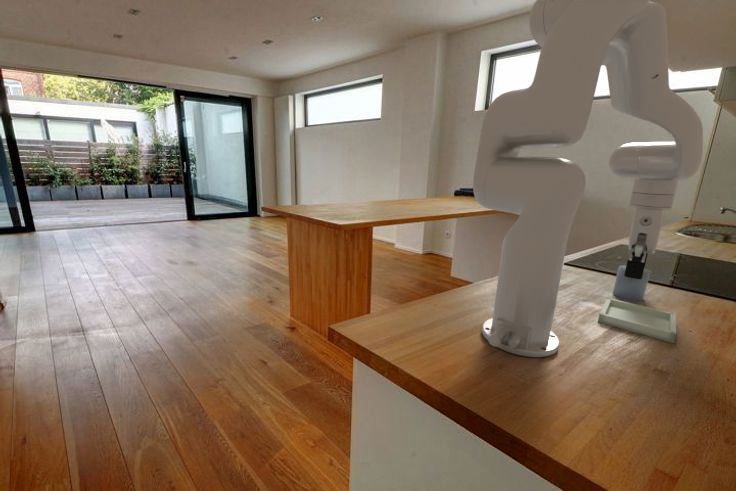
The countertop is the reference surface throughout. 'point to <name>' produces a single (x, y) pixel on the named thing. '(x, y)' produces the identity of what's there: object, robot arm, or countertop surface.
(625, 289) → the blue grey cylinder
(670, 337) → the tray
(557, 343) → the robot arm
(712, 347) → the countertop surface
